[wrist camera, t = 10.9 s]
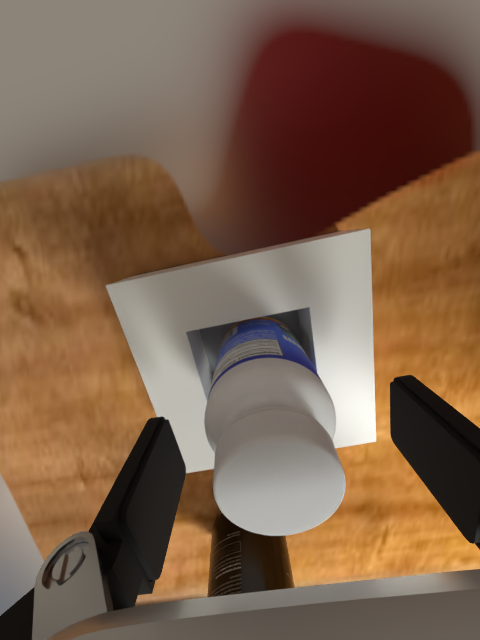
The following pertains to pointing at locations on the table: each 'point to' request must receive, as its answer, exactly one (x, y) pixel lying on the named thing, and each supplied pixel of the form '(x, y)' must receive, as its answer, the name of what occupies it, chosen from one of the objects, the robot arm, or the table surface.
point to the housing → (246, 303)
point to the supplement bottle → (246, 561)
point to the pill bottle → (271, 432)
